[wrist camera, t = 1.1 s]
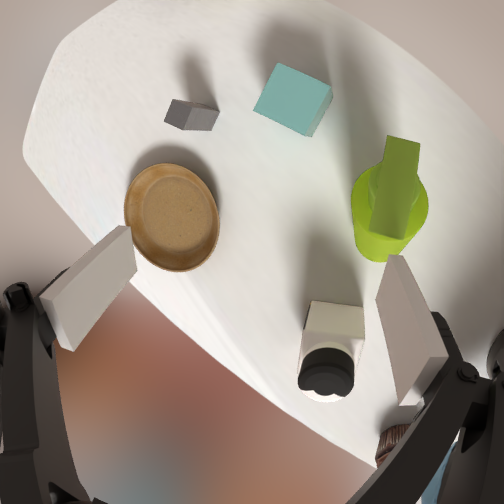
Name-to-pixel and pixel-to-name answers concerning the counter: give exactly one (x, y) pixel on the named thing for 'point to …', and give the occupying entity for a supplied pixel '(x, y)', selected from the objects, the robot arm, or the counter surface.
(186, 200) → the plant saucer
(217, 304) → the counter surface
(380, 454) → the cupcake
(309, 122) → the teal foam cube
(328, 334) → the medicine bottle
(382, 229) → the soap dispenser
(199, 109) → the post grey
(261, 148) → the counter surface
